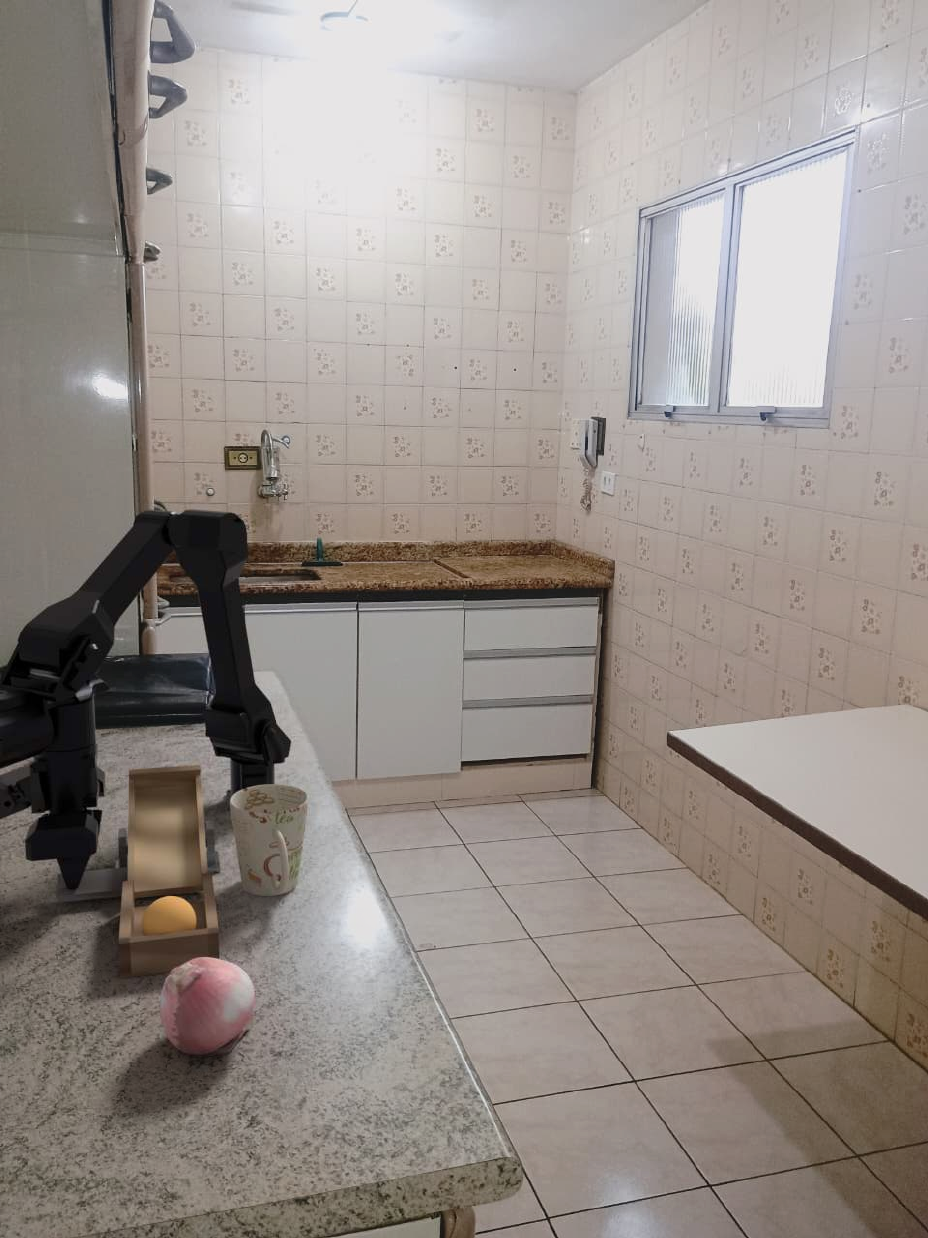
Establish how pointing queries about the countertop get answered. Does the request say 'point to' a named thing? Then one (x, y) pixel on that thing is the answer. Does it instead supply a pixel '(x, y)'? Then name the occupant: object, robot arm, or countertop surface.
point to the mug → (269, 836)
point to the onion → (206, 1006)
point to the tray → (166, 936)
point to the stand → (211, 854)
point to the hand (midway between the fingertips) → (72, 887)
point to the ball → (168, 916)
